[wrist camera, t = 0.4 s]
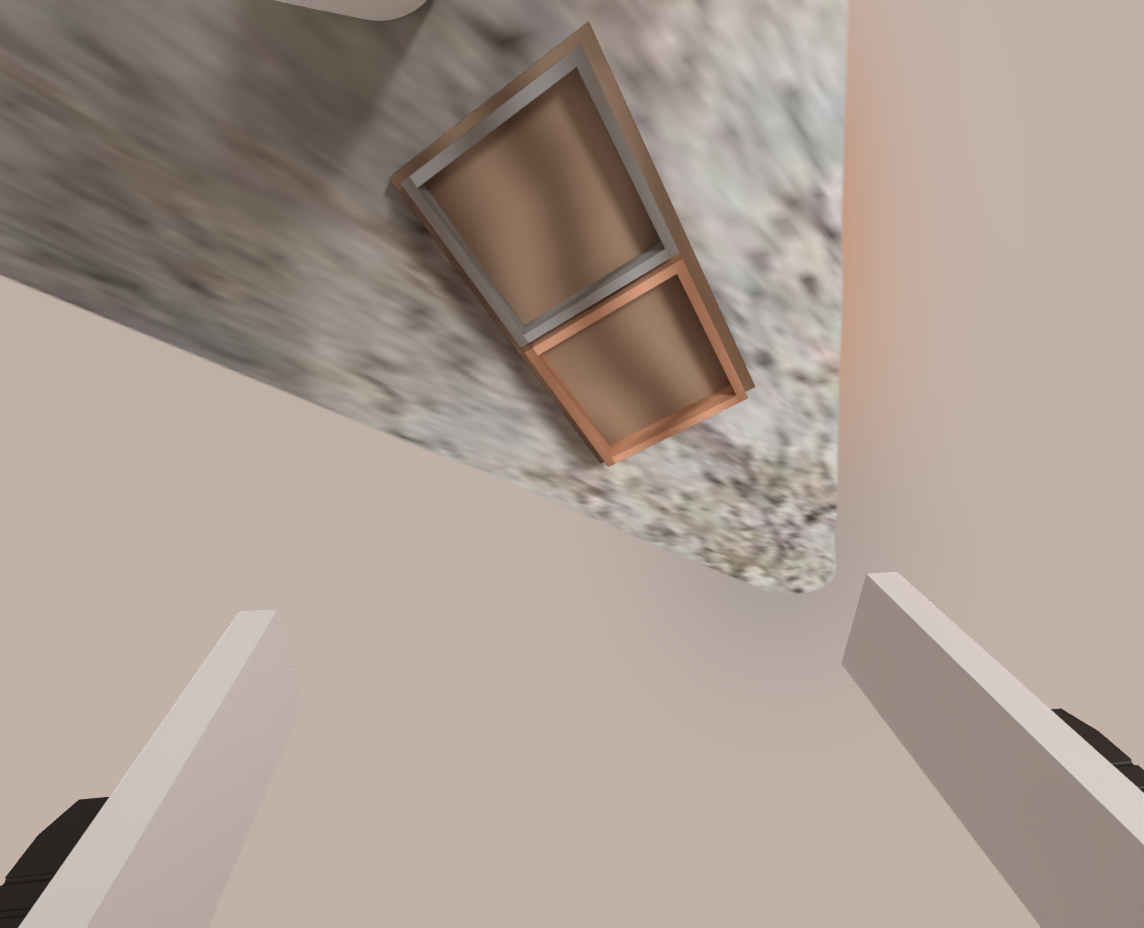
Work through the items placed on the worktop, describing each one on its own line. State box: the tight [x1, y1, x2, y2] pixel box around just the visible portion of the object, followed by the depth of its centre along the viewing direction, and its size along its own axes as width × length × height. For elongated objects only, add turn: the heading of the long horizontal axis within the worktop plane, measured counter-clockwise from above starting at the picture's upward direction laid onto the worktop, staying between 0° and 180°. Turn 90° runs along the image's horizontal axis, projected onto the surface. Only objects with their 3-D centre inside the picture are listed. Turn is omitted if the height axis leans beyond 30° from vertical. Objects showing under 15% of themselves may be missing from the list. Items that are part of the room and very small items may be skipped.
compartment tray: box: [389, 22, 755, 467], centre depth 33 cm, size 12×23×3 cm, turn 31°
